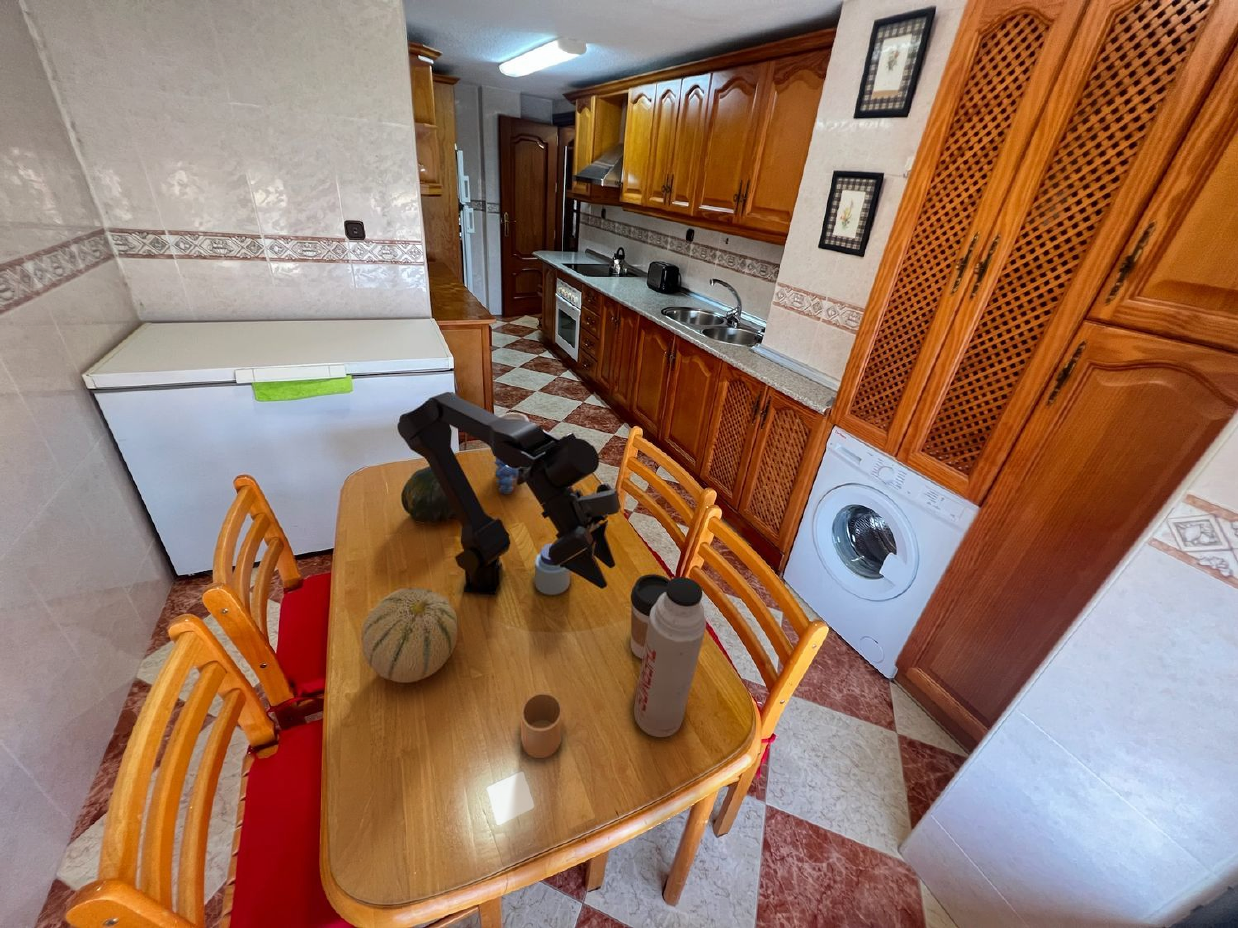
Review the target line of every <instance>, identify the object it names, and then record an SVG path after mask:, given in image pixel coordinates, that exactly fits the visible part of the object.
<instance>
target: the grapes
mask: <svg viewBox="0 0 1238 928" xmlns="http://www.w3.org/2000/svg"><path fill="white" fill-rule="evenodd" d="M494 464H495V465H496V466H497V468H496V470H495V471H494V473H495V474H494V476H495V477H496V478H497V479H498V480H497V481H496V484H497V485H498V486H499V488H498V491H499V492H500V493H501V494H502V495H503V494H505V495H509V494H511V493H512V491H513V490H514V486H513V485H514V482H515V481H516V480H515V478H516V479H517V477H518V468H517V469H516V468H511V467H509V466H507V465H506V464H505V463H503V462H502V461H500V460H499V459H498V458H496V457H495V461H494Z"/></svg>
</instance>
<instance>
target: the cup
mask: <svg viewBox="0 0 1238 928" xmlns="http://www.w3.org/2000/svg"><path fill="white" fill-rule="evenodd" d="M563 715H564V709H563V704H562V701H561V700H560V699H559V698H558V697H557V696H556V695H555V694H553V693H551V692H545V691H540V692H537V693H533V694H532V695H530V696H529V697H527V698H526V699H525V701H524V702H523V703H522V705H521V709H520V740H521V746H522V749H523V750H524V752H525V753H526V754H527V755H529V756H530V757H532V758H535V759H545V758H548V757H550V756H552V755H554V753H556V752H557V750H558V749H559V747H560V746H561V743H562V735H563V717H564V716H563Z"/></svg>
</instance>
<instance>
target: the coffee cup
mask: <svg viewBox="0 0 1238 928" xmlns="http://www.w3.org/2000/svg"><path fill="white" fill-rule="evenodd" d="M670 580H671V579H669V578H667V577H665V576H663V575H660V574H656V573H650V574H644V575H642V576H640V577H639V578H638V579H637V580H636V582H635V583H634V585H633V587H632V589H631V593H630V602H631V606H630V607H631V608H630V609H631V611H630V649H631V651H632V653H633V654H634V655H635V656H636V657H637V658H639V659H641V660H643V653H644V647H645V641H646V635H647V629H648V623H649V617H650V612H651V609H652V607H653V606H654V605H655V604H656V602H657V600H658V599H659V597H660V596H661V595H662V594H663V593H665V592H666V587H667V584H668V582H669V581H670Z"/></svg>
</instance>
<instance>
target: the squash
mask: <svg viewBox="0 0 1238 928" xmlns="http://www.w3.org/2000/svg"><path fill="white" fill-rule="evenodd" d="M400 495H401V499H400V501H401V505H402V507H403V509H404V511H405V512H406V513H407V514H409V516H410V518H411V520H413V521H414V522H417V523H420V524H421V523H422V524H423V523H427V522H428V523H429V524H433V525H436V524H438V522H441V523H445V522H448V521H453V520H458V518H457V516H456V514H455V512H454V510H453V509H452V507H451V505H450V503H449V501H448V499H447V497H446V495H445V494H444V492H443V490H442V488H441V486H440V484H439V482H438V480H437V479H436V477H435V475H434V473H433V471H432V469H431V467H430V465H428V466H427V467H424V468H421V469H418V470H416V471H415V472H414V473H413V474H412V475H411V476H410V478H408V480H407V481H406V482H405V484H404V487H403V488H402V491H401V494H400Z"/></svg>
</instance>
